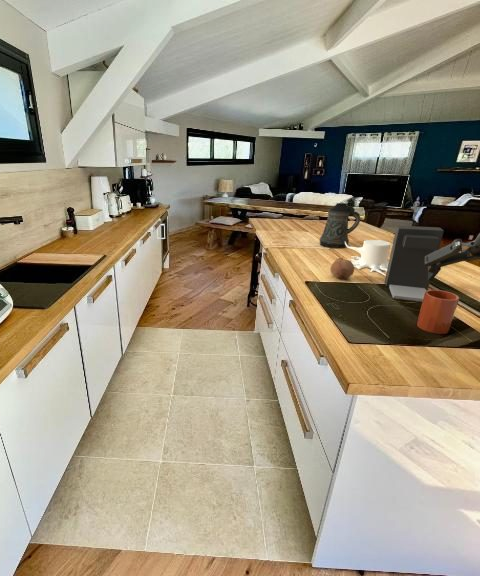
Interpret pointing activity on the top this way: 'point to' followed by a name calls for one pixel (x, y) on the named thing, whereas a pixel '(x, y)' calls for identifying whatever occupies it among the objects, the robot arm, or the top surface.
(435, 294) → the terracotta cup
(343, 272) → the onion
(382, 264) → the tree stump
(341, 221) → the beer stein
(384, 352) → the top surface
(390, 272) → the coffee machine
